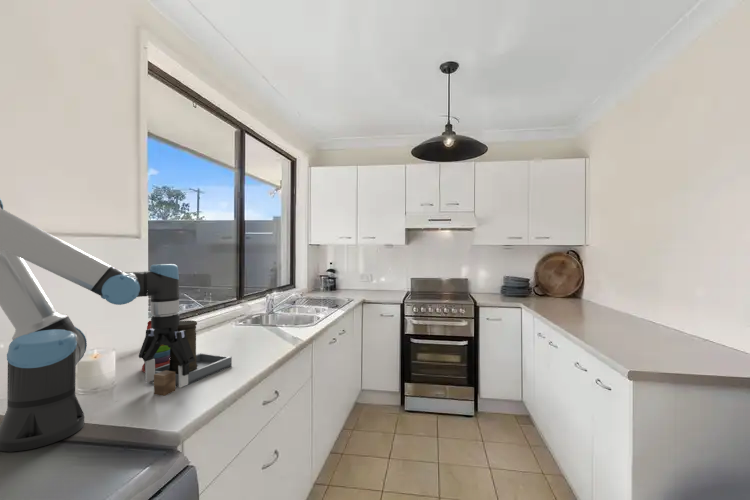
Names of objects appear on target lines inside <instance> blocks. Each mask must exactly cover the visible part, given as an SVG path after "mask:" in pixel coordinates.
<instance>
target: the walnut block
mask: <svg viewBox="0 0 750 500" xmlns="http://www.w3.org/2000/svg"><path fill="white" fill-rule="evenodd" d="M174 392H176V386H175V372H174V371H167V370H165V371H162V372H160V373H157V374H154V382H153V395H156V396H162V397H164V396H166V395H169V394H172V393H174Z"/></svg>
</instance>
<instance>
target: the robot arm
mask: <svg viewBox="0 0 750 500" xmlns="http://www.w3.org/2000/svg"><path fill="white" fill-rule="evenodd" d="M3 203H4V202H3V201H2V199H1V198H0V307H1V309H2V311H3V313H4V314H5V316H6V318H7V319H8V320H9V321H10V323H11V324H12V326H13V328H14V329H15V332H14V334H13V336H12V338H11V339H12V341H11V342H10V343H9V345H8V349H7V350H8V351H7V352H6V360H7V397H6V398H7V404H6V405H7V408H6V411H5V414H4V416H3V419H2V421H1V422H0V452H7V453H8V452H9V453H10V452H21V451H26V450H27V451H29V450H33V449H38V448H42V447H45V446H48V445H52V444H55V443H57V442H60V441H62V440H65V439H67V438H69V437H71V436H73V435H74V434H76V433H78V432H79V431H80V430H82V429H83V428H84V426H85V413H84V410H83V409H82V407H81V405H80V402H79V400H78V398H77V395H76V368H77V365H78V363H79V362H80V361H81V360H82V358H83V357H84V356H85V354H86V351H87V348H88V347H87V345H88V344H87V338H86V335H85V334H84V332H83V331H82V330H81V329H80V328H78V327H76V326H75V325H74V323H73V322H72V320H71V318H70V317H69V316H68V314H65V313H60V312H58V311H57V310H56V308H55V306H54V305H53V303H52V302H51V300H50V298H49V296H47V294H46V292H45V291H44V289H43V287H42V285H41V284H40V282H39V280H38V279H37V277H36V276H35V274H34V273H33V271H32V269H31V268H30V266H29V265H28V263H27V262H29V263H31V264H32V265H35V266H37V267H39V268H42V269H43V270H46V271H48V272H50V273H53V274H54V275H56V276H59V277H61V278H63V279H65V280H67V281H68V282H71V283H73V284H75V285H78V286H80V287H81V288H84V289H86V290H88V291H90V292H92V293H94V294H96V295H98V296H99V297H100V298H101V299H102V300H105V301H106V302H108V303H110V304H112V305H117V306H118V305H119V306H121V305H125V304H126V305H127V304H129V303H131V302H133V301H135V299H137V298H140V297H150V315H151V316H150V321H151V327H152V329H147V328H146V329H145V337H144V340H143V343H142V345H141V349H140V351H139V354H138V358H139V359H142V360H143V362H144V363H143V364H144V365H145V366H144V369H145V372H144V373H145V376H144V378H145V381H144V382H145V383H151V382H150V381H152V380H154V374H155V359H152V358H154V355H155V353H156V352H157V350H158V349H159V347H160V346H161V345H165V346H167V345H168V347H169V348H171V349H172V351H173V352H174V354H175V356H176V357H177V359H178V360H179V362H180V365H178V369H179V387H178V388H180V389H181V388H184V387H186V386H188V374H189V363H191V362H193V361H195V358H194V355H193V353H192V350H191V347H190V345H189V342H188V340H187V336H186V331H185V330H184V331H180V332H178V330H177V327H178V326H179V324H180V321H181V320H180V318H181V317H180V314H179V312H180V277H179V275H180V274H179V272H180V271H179V267H178V265H176V264H174V263H161V264H151V265H150V267H149V270H146V271H145V270H144V271H123V270H120V269H118V268H116V267H114V266H113V265H111V264H108V263H106V262H105V261H103V260H101V259H99V258H97V257H95V256H93V255H91V254H89V253H87V252H86V251H84V250H82V249H80V248H79V247H76V246H74V245H72V244H71V243H68V242H67V241H65V240H63V239H60V238H59V237H57V236H55V235H53V234H51V233H49V232H47V231H46V230H44V229H41V228H39V227H37V226H36V225H34V224H32V223H30V222H29V221H26V220H24V219H22V218H20V217H19V216H17V215H15V214H13V213H10V212H9V211H7V210H5V209H4V204H3ZM26 261H27V262H26ZM174 341H175V342H174ZM144 352H145V353H144ZM189 358H190V359H189ZM183 359H184V360H183ZM185 385H186V386H185ZM183 386H184V387H183Z"/></svg>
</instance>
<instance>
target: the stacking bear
mask: <svg viewBox="0 0 750 500" xmlns="http://www.w3.org/2000/svg"><path fill="white" fill-rule="evenodd" d="M147 329H152V327H151V320H149V321H147V326H146V330H147ZM144 353H145V352H144ZM152 359H155V368H158V367H161V366H164V365H167V364H170V362H169V361H170V348H169V347H168V345H167V346H165V345H161V346H160V347H159V349H158V350H157V352H156V353H155V355H154V358H152ZM144 366H145V365H144V363H143V364H142V367H141V371H142V372H143V373H145V369H144Z"/></svg>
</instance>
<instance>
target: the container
mask: <svg viewBox="0 0 750 500" xmlns="http://www.w3.org/2000/svg"><path fill="white" fill-rule="evenodd" d="M197 325H198V321H196V320H191V319H190V320H180V324H179V326H178V327H177V330H178V332H180V331H184V330H185V331H186V336H187V340H188V342H189V345H190V347H191V350H192V353H193V355H194V358H195V361H193V362H191V363H189V372H191V371H194V370H196V369H197V367H198V365H197V364H196V359H197V357H196V355H197ZM174 342H175V341H174ZM189 359H190V358H189ZM183 360H184V359H183ZM169 362H170V367H169V369H168V371H174V372H175V374H179V369H178V365H180V362H179V360H178V359H177V357H176V356H175V354H174V352H173V351H172V349H171V348H170V361H169Z"/></svg>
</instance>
